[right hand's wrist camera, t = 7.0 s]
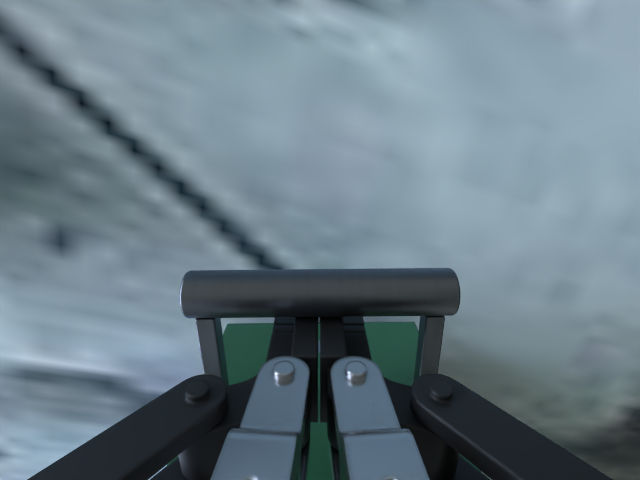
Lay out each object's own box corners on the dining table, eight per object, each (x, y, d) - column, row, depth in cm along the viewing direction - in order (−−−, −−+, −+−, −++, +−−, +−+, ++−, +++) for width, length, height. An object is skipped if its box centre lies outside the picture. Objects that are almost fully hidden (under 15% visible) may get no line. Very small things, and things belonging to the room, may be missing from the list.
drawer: (213, 215, 16) (95, 333, 8) (425, 212, 16) (544, 329, 8) (252, 524, 24) (214, 753, 15) (394, 523, 24) (436, 752, 15)
